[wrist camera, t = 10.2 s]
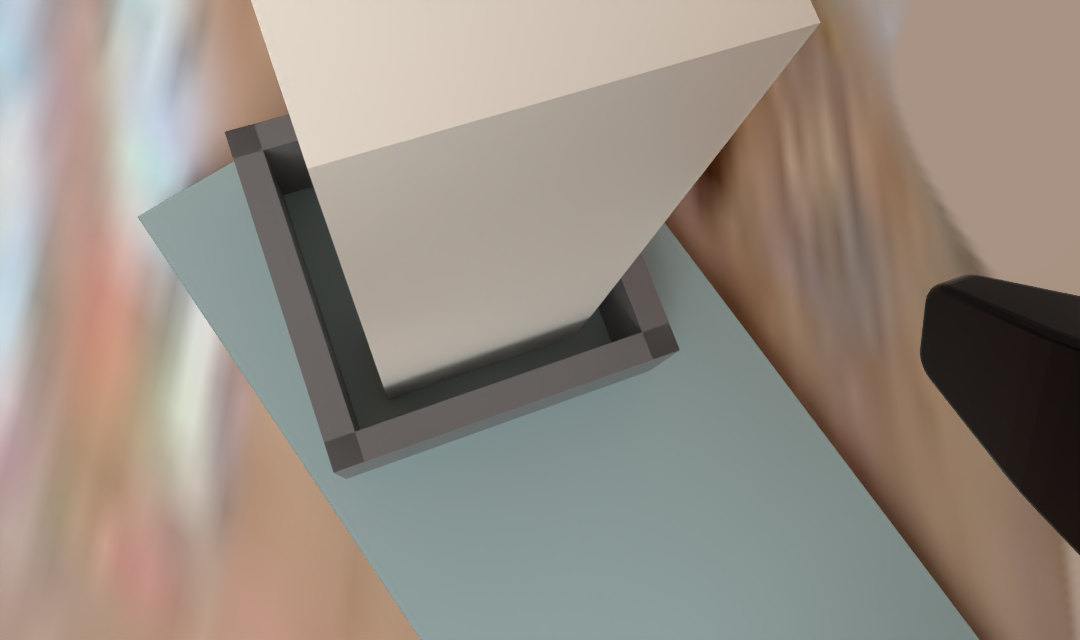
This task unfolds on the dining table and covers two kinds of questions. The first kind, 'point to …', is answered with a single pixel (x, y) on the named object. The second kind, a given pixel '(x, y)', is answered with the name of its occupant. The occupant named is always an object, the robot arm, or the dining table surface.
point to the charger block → (509, 152)
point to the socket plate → (551, 447)
